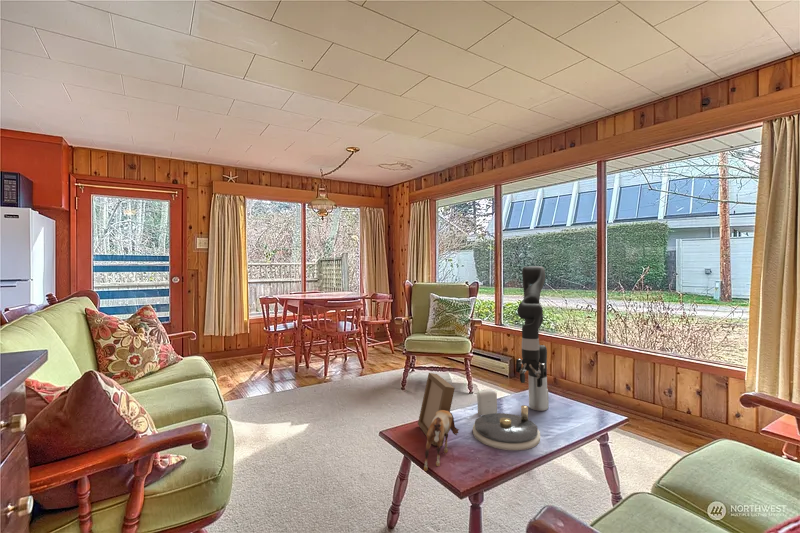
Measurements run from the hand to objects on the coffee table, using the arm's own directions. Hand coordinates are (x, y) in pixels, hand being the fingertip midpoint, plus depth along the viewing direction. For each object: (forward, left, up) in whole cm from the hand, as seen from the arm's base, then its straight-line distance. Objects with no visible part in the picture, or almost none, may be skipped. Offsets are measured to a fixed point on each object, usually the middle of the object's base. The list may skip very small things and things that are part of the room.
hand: (530, 384), depth 165 cm
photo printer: (+1, -28, -23) cm, 36 cm away
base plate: (+10, -6, -22) cm, 25 cm away
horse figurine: (+46, -2, -23) cm, 51 cm away
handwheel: (+10, -6, -20) cm, 23 cm away
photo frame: (+35, -21, -23) cm, 46 cm away
